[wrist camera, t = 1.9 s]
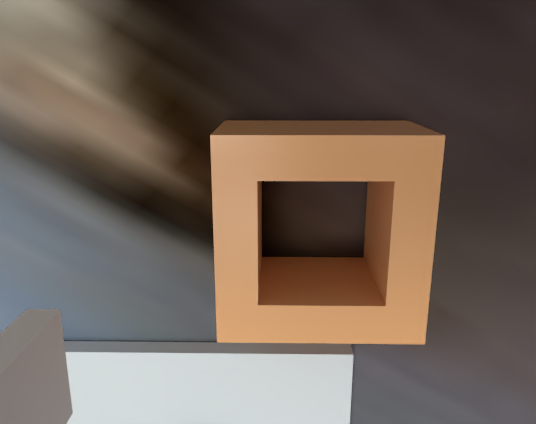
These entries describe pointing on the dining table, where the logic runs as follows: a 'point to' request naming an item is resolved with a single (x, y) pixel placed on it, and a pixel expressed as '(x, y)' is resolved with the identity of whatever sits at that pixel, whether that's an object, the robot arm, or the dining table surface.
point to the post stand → (209, 382)
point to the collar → (326, 268)
